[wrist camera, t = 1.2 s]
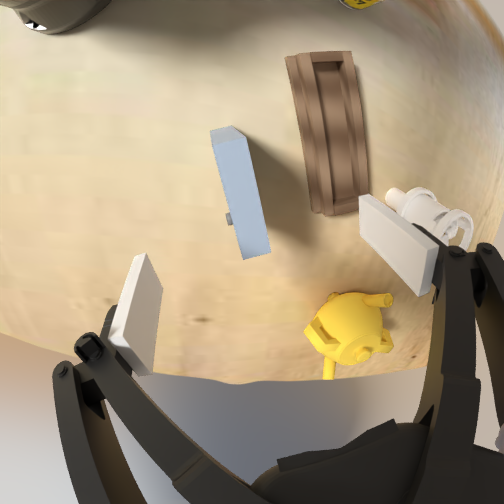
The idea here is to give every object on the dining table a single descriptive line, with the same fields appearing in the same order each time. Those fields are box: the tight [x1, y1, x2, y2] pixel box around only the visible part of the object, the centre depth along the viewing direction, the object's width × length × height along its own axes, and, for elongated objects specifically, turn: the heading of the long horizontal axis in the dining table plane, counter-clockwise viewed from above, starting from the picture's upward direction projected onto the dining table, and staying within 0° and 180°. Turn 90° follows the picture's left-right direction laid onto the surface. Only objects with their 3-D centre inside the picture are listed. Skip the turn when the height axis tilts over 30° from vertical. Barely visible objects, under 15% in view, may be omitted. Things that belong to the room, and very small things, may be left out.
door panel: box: [210, 126, 271, 260], centre depth 26 cm, size 10×3×12 cm, turn 12°
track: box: [285, 51, 368, 216], centre depth 29 cm, size 20×8×3 cm, turn 12°
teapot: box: [304, 292, 394, 379], centre depth 42 cm, size 20×18×11 cm
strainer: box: [385, 187, 474, 251], centre depth 30 cm, size 7×7×15 cm
